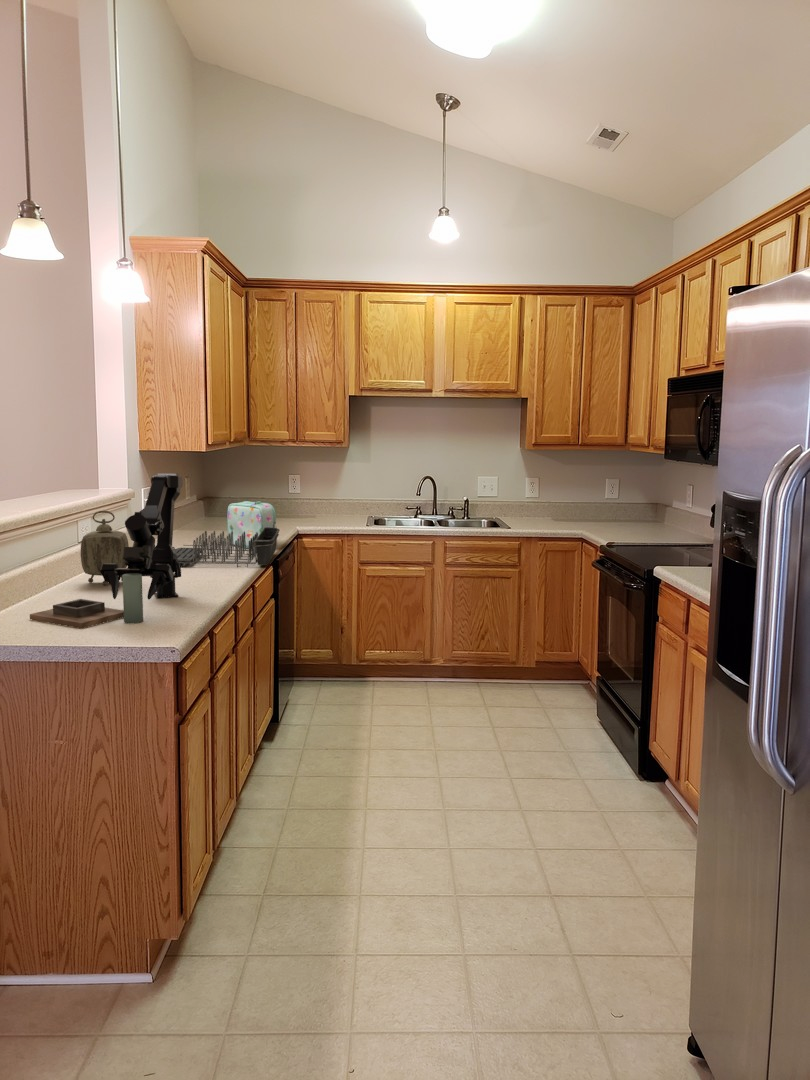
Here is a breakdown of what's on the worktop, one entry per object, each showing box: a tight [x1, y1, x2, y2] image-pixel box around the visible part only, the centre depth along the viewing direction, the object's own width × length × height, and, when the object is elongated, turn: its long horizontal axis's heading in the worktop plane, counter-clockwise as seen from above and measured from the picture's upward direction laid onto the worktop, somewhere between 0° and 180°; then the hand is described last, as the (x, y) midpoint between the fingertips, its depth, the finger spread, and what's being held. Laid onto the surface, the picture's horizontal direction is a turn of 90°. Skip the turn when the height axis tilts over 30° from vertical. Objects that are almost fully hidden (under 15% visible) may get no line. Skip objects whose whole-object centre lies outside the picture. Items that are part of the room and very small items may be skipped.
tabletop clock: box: [80, 510, 130, 586], centre depth 259 cm, size 14×9×25 cm, turn 103°
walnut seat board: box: [29, 598, 124, 629], centre depth 214 cm, size 16×20×4 cm
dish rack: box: [172, 527, 280, 568], centre depth 310 cm, size 34×44×12 cm
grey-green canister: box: [122, 573, 144, 624], centre depth 211 cm, size 5×5×13 cm
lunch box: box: [226, 500, 278, 550], centre depth 347 cm, size 27×10×21 cm, turn 51°
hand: (131, 598), depth 209 cm, fingers open, 9 cm apart
